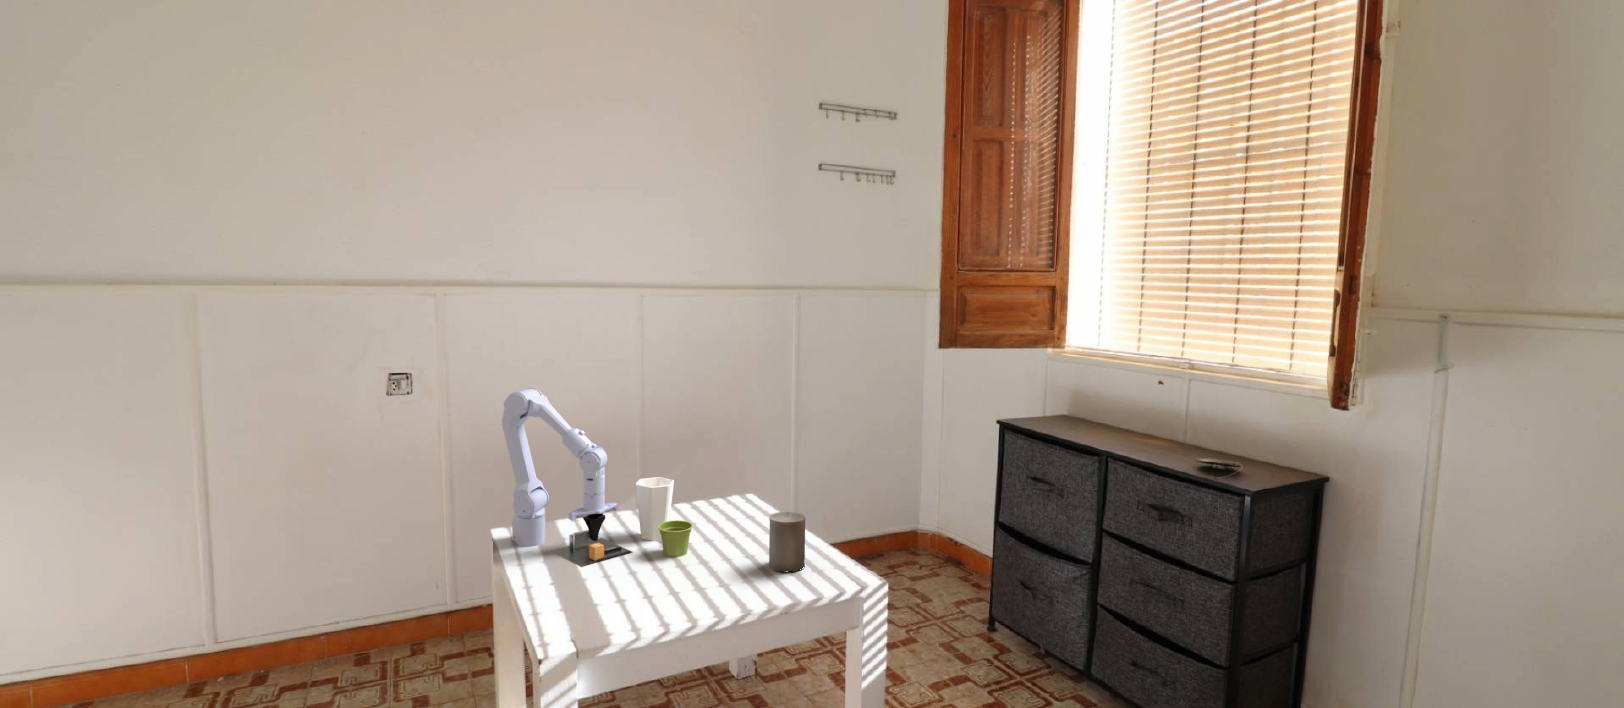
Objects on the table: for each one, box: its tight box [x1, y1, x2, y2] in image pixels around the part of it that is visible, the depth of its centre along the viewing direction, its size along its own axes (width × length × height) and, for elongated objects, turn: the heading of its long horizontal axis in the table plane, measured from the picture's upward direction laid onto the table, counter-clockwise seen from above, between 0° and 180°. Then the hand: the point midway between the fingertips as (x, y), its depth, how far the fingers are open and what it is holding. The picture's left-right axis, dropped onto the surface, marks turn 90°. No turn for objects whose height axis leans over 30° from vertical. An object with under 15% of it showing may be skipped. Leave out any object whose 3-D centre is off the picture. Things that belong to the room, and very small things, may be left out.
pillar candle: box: [768, 511, 806, 572], centre depth 212 cm, size 10×10×15 cm
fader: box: [589, 543, 604, 561], centre depth 211 cm, size 3×3×4 cm
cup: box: [634, 476, 675, 543], centre depth 229 cm, size 11×10×17 cm
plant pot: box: [658, 519, 694, 558], centre depth 217 cm, size 9×9×9 cm
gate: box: [572, 529, 599, 548], centre depth 220 cm, size 7×1×4 cm, turn 132°
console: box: [549, 533, 634, 568], centre depth 216 cm, size 16×16×5 cm
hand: (594, 540), depth 220 cm, fingers closed, pressing on gate
